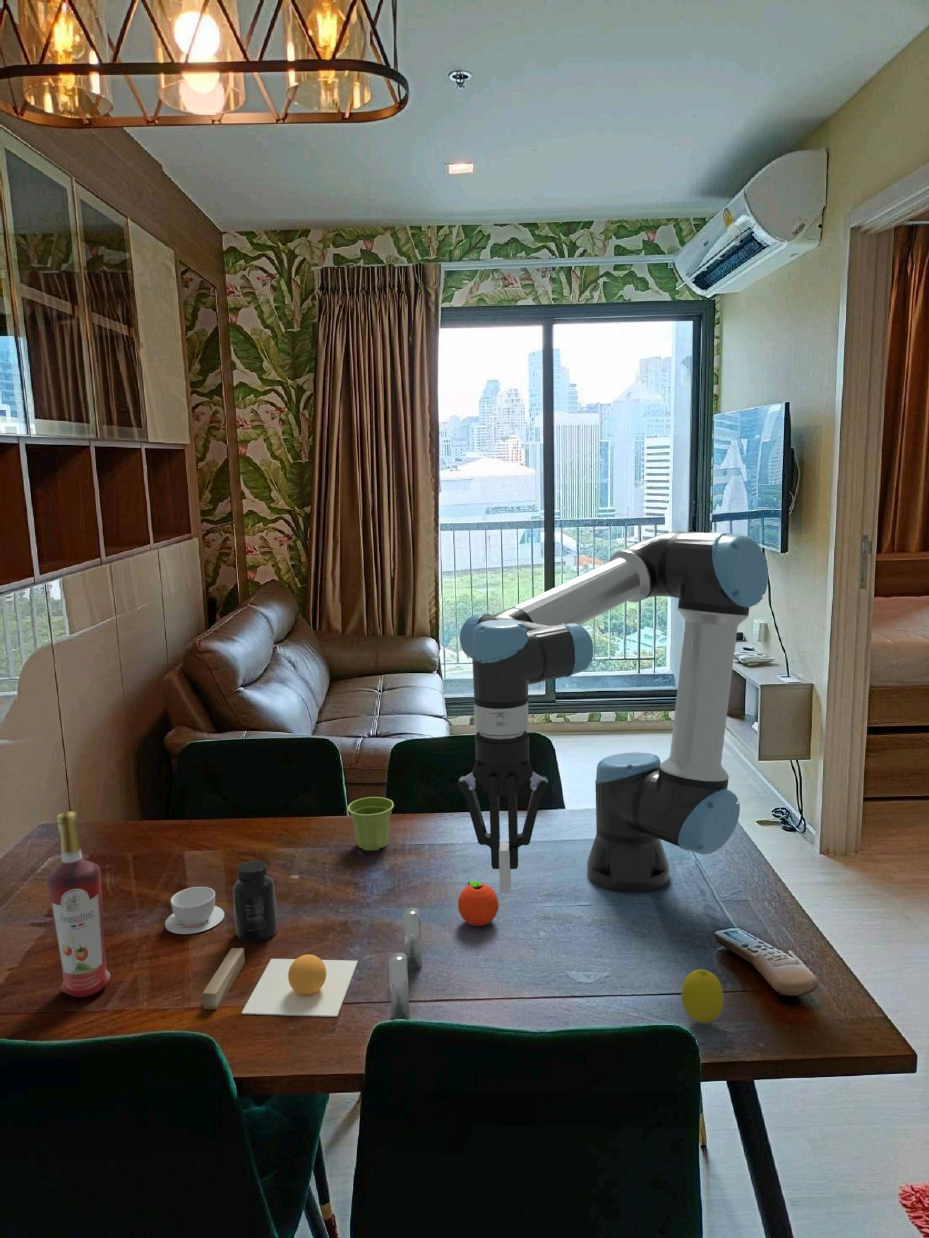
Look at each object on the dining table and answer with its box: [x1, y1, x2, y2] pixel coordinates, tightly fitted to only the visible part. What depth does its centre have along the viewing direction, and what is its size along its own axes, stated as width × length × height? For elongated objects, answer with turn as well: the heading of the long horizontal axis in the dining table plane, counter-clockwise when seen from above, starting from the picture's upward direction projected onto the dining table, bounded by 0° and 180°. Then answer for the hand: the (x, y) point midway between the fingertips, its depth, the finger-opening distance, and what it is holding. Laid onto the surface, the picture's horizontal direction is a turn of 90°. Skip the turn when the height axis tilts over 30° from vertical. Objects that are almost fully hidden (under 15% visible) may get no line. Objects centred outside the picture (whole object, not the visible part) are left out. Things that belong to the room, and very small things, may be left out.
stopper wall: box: [202, 947, 246, 1010], centre depth 132 cm, size 2×12×2 cm, turn 175°
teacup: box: [164, 886, 225, 935], centre depth 152 cm, size 10×10×5 cm
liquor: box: [46, 811, 111, 999], centre depth 130 cm, size 7×7×28 cm
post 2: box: [402, 907, 423, 971], centre depth 135 cm, size 3×3×9 cm
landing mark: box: [241, 958, 359, 1018], centre depth 131 cm, size 14×14×1 cm
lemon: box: [681, 968, 724, 1025], centre depth 119 cm, size 6×6×8 cm
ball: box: [288, 953, 326, 995], centre depth 130 cm, size 6×6×6 cm
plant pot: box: [347, 796, 395, 852], centre depth 180 cm, size 9×9×9 cm
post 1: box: [388, 952, 411, 1021], centre depth 123 cm, size 3×3×9 cm
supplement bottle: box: [232, 860, 278, 943], centre depth 146 cm, size 7×7×12 cm
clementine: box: [457, 880, 500, 927], centre depth 148 cm, size 8×7×7 cm
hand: (505, 888), depth 126 cm, fingers closed
